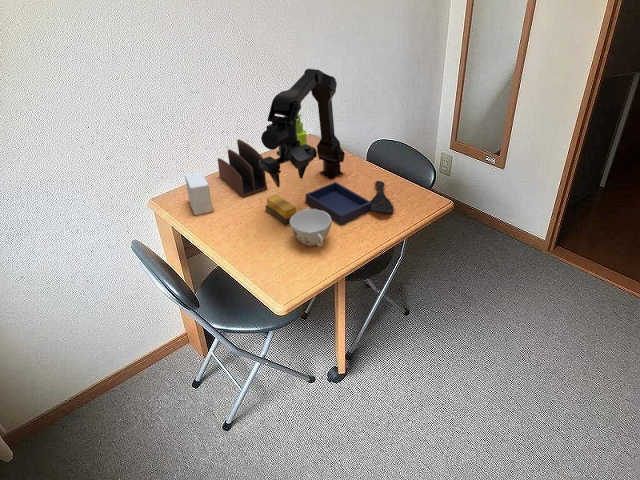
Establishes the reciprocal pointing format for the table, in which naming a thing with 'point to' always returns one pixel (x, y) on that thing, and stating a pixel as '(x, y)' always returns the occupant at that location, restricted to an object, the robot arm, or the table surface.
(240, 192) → the letter holder
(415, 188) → the table surface
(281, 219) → the duster
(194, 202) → the cosmetics box
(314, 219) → the teacup
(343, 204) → the blue tray
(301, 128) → the soap dispenser
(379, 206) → the hairbrush
